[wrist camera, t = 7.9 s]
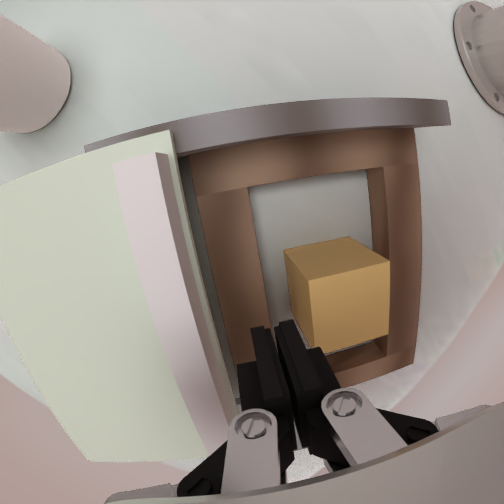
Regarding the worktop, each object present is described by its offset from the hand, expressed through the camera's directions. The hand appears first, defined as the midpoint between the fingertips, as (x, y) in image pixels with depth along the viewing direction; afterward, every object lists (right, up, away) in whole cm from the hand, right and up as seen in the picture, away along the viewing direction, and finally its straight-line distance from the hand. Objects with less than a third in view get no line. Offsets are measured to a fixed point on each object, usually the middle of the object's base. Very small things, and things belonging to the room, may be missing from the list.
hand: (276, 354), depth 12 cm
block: (+4, +2, +11) cm, 12 cm away
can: (-16, +16, +5) cm, 23 cm away
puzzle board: (+2, +3, +11) cm, 11 cm away
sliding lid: (-9, -1, +3) cm, 9 cm away
